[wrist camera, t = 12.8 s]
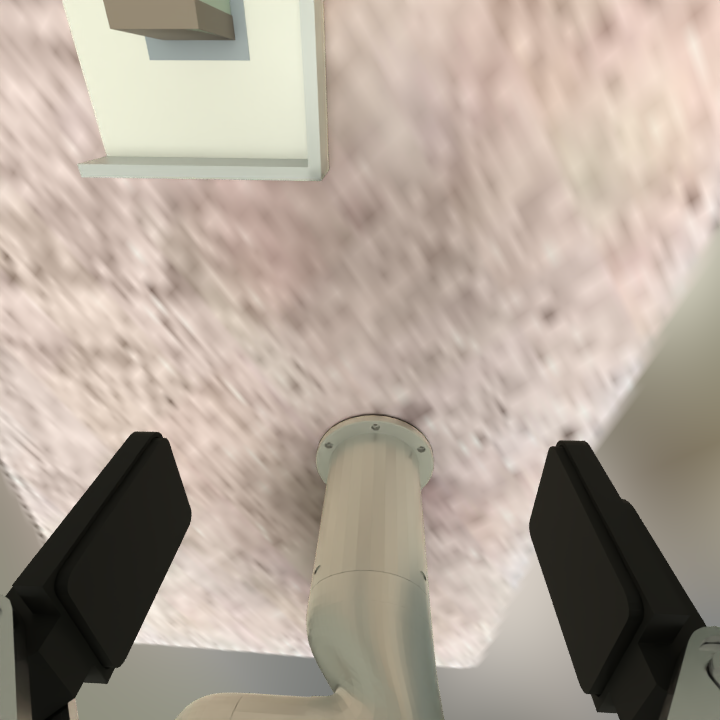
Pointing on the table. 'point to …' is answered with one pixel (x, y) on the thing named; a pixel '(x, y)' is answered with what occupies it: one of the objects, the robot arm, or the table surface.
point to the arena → (209, 96)
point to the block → (172, 18)
